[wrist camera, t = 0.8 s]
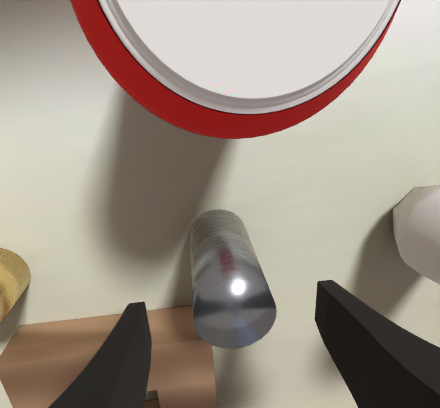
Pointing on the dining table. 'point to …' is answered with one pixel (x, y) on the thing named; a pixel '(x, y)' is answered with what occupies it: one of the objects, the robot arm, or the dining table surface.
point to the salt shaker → (419, 230)
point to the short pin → (11, 280)
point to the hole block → (91, 342)
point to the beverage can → (234, 57)
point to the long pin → (228, 283)
